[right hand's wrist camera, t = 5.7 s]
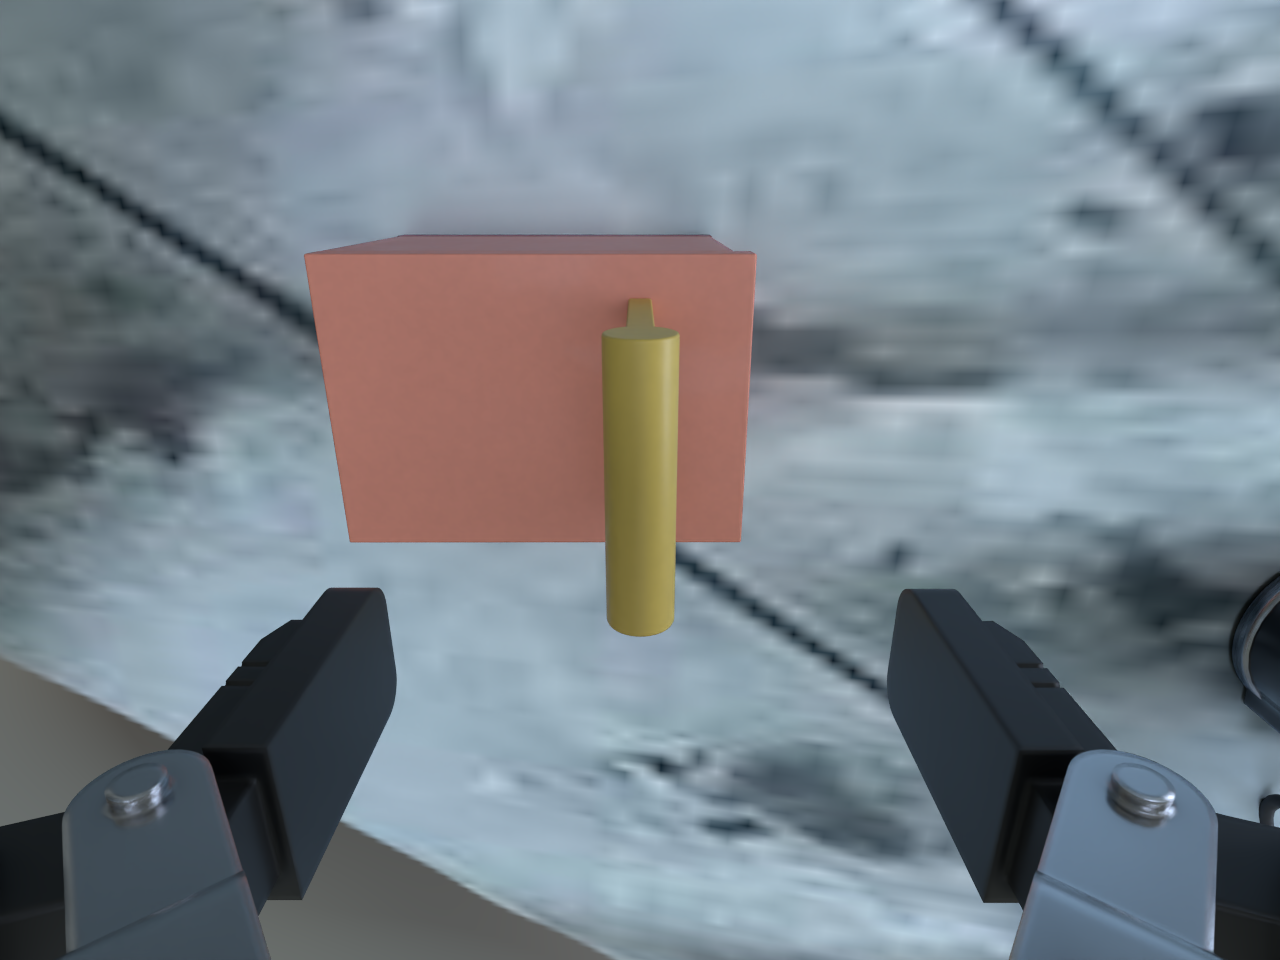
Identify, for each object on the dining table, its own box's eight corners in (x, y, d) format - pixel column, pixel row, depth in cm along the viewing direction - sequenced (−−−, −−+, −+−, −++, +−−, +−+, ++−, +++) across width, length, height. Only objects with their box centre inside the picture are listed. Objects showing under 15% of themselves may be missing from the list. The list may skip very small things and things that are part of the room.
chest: (709, 234, 31) (735, 250, 23) (702, 447, 34) (722, 529, 26) (404, 235, 31) (317, 250, 23) (427, 447, 34) (360, 529, 26)
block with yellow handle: (752, 251, 23) (812, 283, 15) (737, 529, 26) (779, 676, 18) (317, 251, 23) (145, 283, 15) (360, 529, 26) (238, 677, 18)
